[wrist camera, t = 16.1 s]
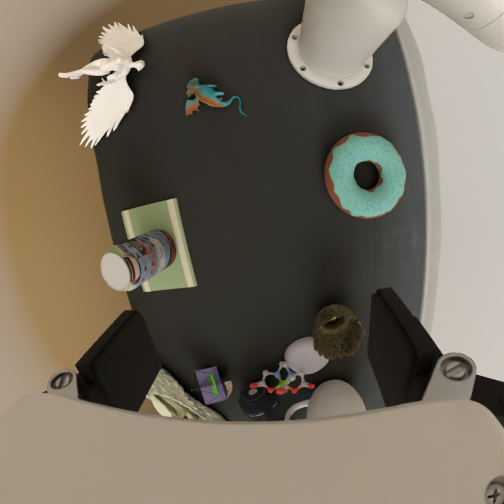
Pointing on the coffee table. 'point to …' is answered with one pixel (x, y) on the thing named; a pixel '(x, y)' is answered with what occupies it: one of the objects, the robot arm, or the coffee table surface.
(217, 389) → the green polyhedron model
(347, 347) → the cup
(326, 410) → the mug
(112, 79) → the figurine
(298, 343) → the white pebble
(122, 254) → the beverage can
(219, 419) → the ballet flat
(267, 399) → the earphone
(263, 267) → the coffee table surface
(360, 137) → the donut
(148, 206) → the towel mat
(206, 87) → the dragon figurine
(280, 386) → the molecular model
